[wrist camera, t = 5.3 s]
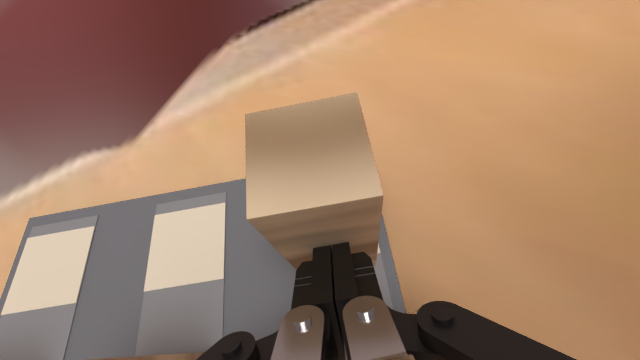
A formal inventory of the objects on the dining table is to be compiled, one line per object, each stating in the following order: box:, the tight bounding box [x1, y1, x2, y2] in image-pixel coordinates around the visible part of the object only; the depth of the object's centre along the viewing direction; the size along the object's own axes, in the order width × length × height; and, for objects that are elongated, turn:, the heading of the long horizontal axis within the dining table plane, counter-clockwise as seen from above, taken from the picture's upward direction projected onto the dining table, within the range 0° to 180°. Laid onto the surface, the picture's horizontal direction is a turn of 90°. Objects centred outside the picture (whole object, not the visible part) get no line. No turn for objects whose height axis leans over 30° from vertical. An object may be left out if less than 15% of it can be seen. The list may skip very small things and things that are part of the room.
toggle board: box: [0, 179, 406, 360], centre depth 17 cm, size 16×24×1 cm, turn 97°
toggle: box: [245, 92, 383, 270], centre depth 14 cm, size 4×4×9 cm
